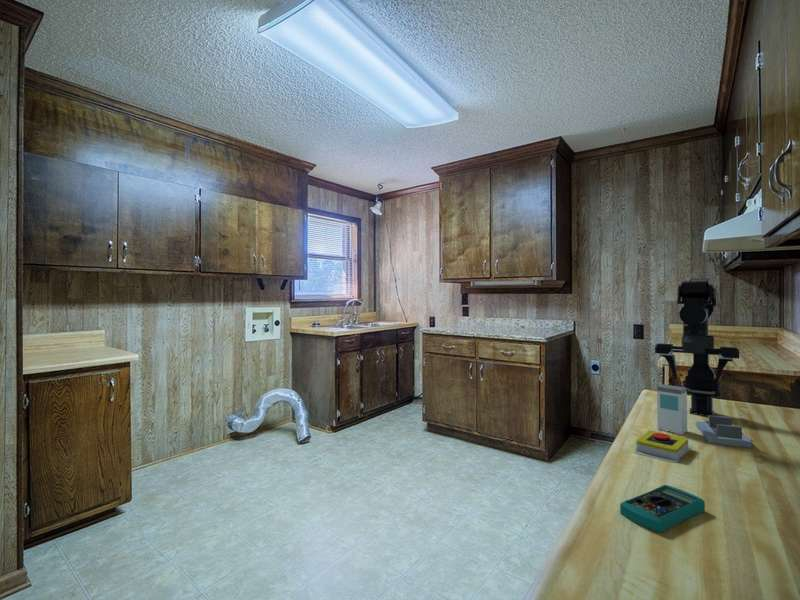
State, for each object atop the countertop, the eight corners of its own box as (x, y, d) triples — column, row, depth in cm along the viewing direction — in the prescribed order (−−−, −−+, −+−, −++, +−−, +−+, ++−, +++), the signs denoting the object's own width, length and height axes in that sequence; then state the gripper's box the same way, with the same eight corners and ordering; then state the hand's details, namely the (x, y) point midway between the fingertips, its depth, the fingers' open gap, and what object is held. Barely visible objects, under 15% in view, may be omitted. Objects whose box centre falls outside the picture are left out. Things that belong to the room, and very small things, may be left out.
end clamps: (708, 425, 116) (708, 415, 116) (730, 427, 113) (730, 417, 113) (717, 436, 107) (717, 425, 107) (742, 439, 105) (741, 427, 105)
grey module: (663, 426, 122) (663, 384, 122) (687, 431, 117) (686, 387, 117) (657, 429, 119) (657, 386, 119) (681, 434, 114) (680, 390, 114)
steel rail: (704, 421, 120) (704, 420, 120) (725, 424, 118) (725, 422, 118) (717, 438, 107) (717, 436, 107) (742, 440, 105) (742, 439, 104)
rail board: (696, 426, 121) (696, 421, 121) (734, 430, 117) (734, 424, 117) (708, 442, 108) (708, 437, 108) (752, 447, 104) (752, 441, 104)
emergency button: (632, 437, 102) (651, 423, 112) (632, 454, 102) (651, 439, 112) (675, 446, 95) (691, 431, 105) (675, 465, 95) (692, 448, 105)
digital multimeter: (617, 516, 74) (617, 500, 74) (664, 496, 81) (664, 481, 81) (658, 537, 67) (658, 520, 67) (706, 513, 74) (706, 497, 74)
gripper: (652, 324, 113) (652, 380, 113) (739, 326, 102) (739, 389, 101) (657, 324, 122) (657, 376, 121) (738, 326, 110) (739, 384, 110)
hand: (695, 381), depth 113 cm, fingers open, 9 cm apart
